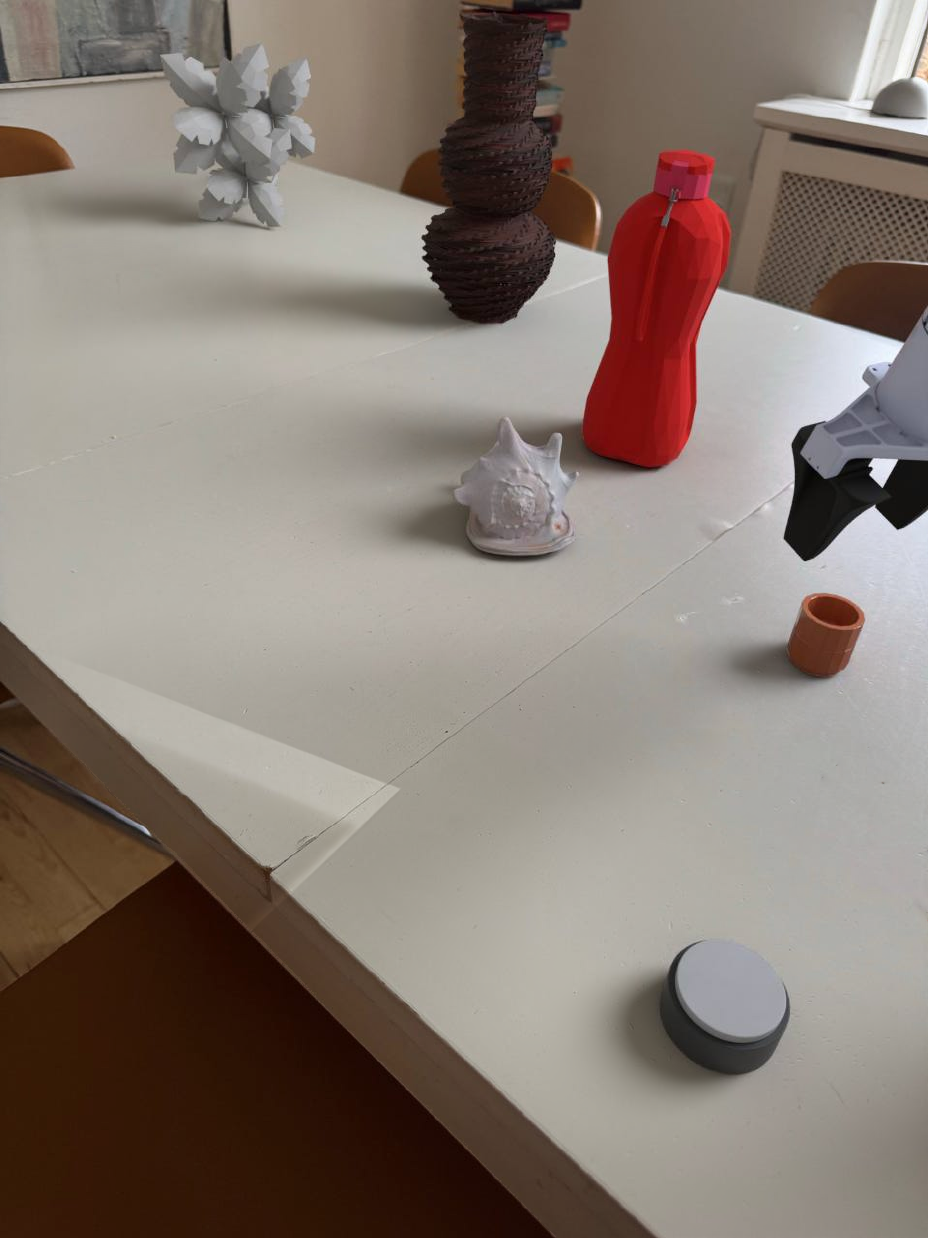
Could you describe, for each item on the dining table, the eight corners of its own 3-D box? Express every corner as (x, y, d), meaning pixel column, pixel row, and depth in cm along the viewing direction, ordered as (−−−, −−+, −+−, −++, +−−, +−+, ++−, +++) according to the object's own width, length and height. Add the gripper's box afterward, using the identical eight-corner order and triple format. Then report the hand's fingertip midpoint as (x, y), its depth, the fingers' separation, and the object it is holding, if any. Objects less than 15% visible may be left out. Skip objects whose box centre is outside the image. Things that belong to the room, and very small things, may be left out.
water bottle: (563, 462, 86) (605, 158, 71) (601, 415, 94) (646, 133, 79) (664, 488, 83) (730, 178, 68) (694, 438, 91) (758, 151, 76)
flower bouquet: (368, 192, 154) (366, 40, 141) (261, 249, 128) (247, 69, 116) (271, 178, 158) (262, 29, 145) (149, 229, 133) (124, 54, 120)
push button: (795, 1006, 45) (810, 975, 43) (752, 1099, 41) (766, 1069, 40) (689, 944, 47) (700, 913, 46) (639, 1027, 44) (649, 996, 42)
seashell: (461, 567, 72) (469, 454, 66) (428, 487, 81) (433, 382, 75) (590, 556, 74) (608, 446, 68) (543, 479, 83) (556, 377, 78)
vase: (561, 335, 110) (599, 30, 92) (428, 335, 108) (440, 21, 90) (533, 289, 122) (562, 11, 104) (412, 289, 120) (420, 3, 102)
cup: (853, 657, 66) (872, 608, 64) (834, 687, 63) (854, 637, 61) (797, 634, 68) (813, 585, 65) (776, 662, 65) (793, 612, 63)
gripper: (1013, 272, 51) (883, 462, 62) (817, 311, 45) (710, 513, 56) (1118, 352, 48) (962, 539, 58) (921, 405, 42) (787, 602, 52)
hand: (844, 532), depth 57 cm, fingers open, 7 cm apart
